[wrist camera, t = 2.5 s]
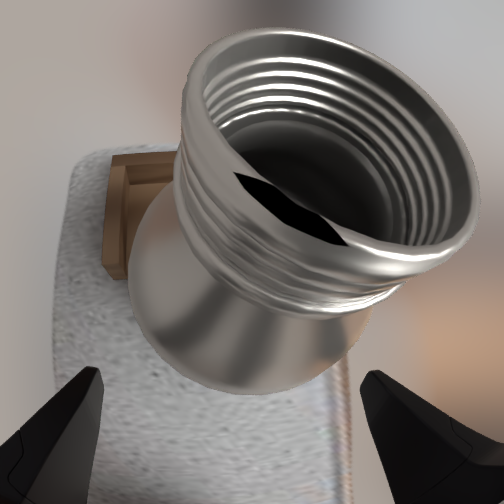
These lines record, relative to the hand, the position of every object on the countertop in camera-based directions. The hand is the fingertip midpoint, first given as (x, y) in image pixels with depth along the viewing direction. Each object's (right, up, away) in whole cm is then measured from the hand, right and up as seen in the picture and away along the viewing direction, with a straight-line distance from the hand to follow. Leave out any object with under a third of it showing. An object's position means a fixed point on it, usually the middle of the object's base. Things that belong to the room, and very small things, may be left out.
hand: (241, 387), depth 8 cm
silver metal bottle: (-3, -2, +12) cm, 13 cm away
